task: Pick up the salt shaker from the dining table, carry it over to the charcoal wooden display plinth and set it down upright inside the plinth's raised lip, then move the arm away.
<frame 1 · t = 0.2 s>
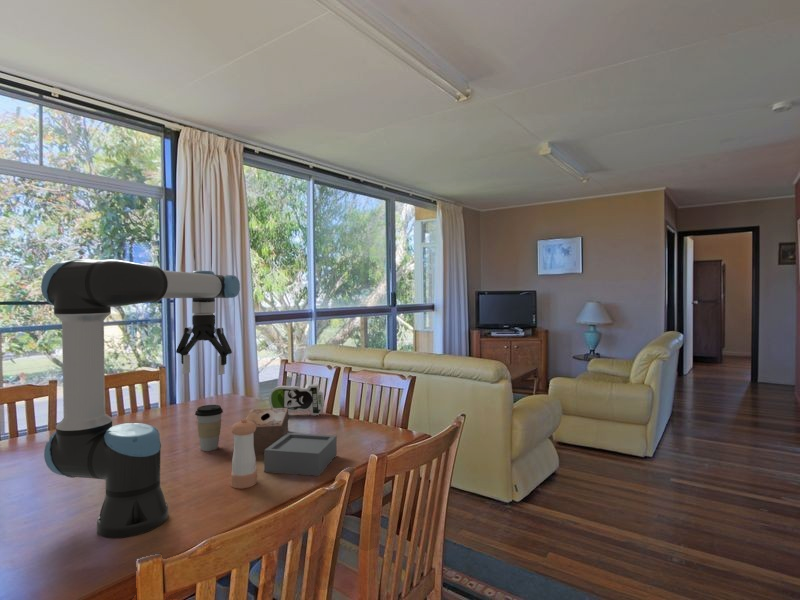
hand: (203, 373, 161), 28 cm above the table, tool pointing down, fingers open, 13 cm apart
cutout: (296, 415, 210), on the table
display plinth: (302, 463, 150), on the table
tissue box cover: (265, 443, 172), on the table
coffee cup: (209, 448, 165), on the table
salt shaker: (244, 484, 135), on the table
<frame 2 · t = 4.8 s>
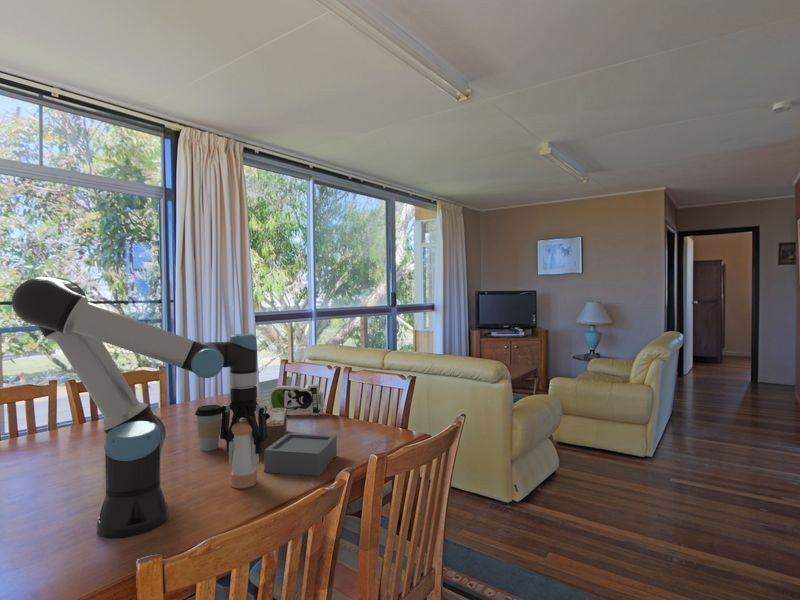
hand: (243, 463, 134), 6 cm above the table, tool pointing down, fingers closed on salt shaker, 7 cm apart
salt shaker: (244, 483, 135), on the table, touching gripper
everything else where it was.
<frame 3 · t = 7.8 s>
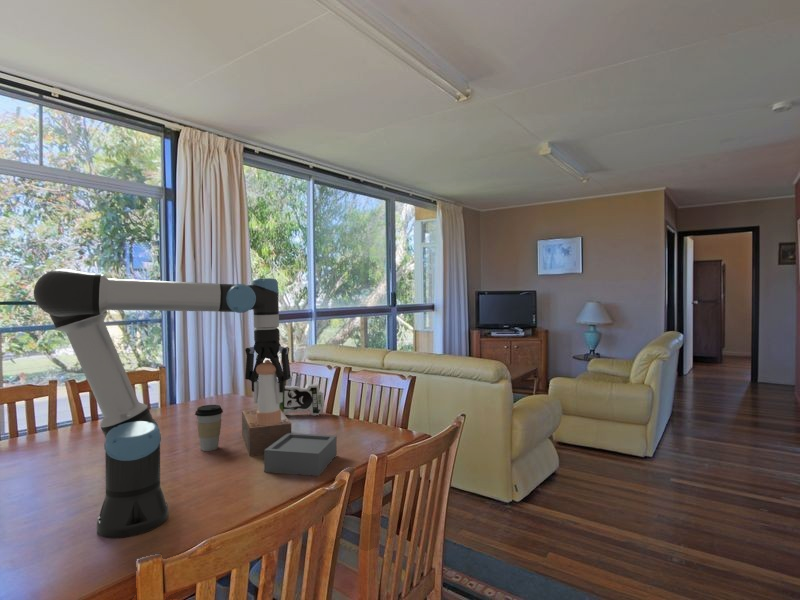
hand: (268, 402, 140), 23 cm above the table, tool pointing down, fingers closed on salt shaker, 7 cm apart
salt shaker: (269, 422, 140), point 17 cm above the table, touching gripper
when the fingers open (13 cm above the table, at t = 10.9 s): salt shaker drops 1 cm, resting on display plinth.
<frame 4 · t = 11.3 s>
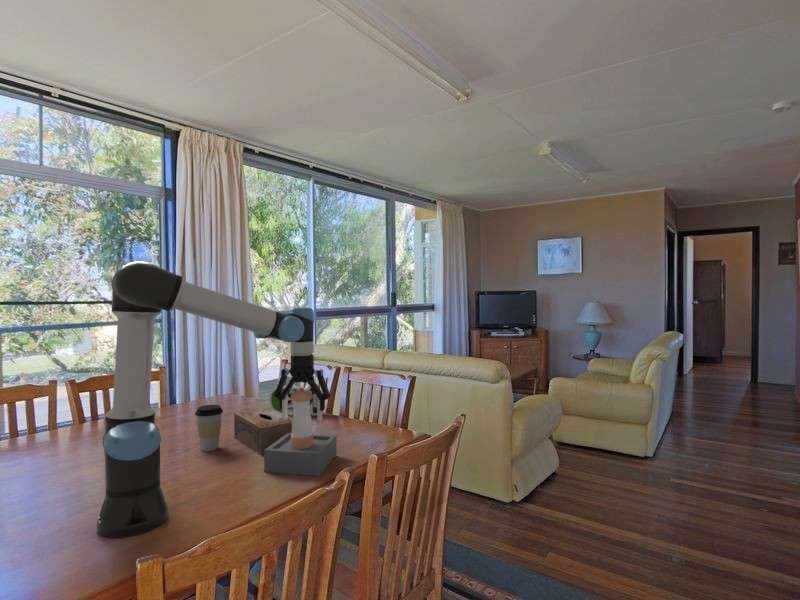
hand: (302, 419, 150), 15 cm above the table, tool pointing down, fingers open, 11 cm apart
salt shaker: (302, 446, 150), point 6 cm above the table, touching display plinth
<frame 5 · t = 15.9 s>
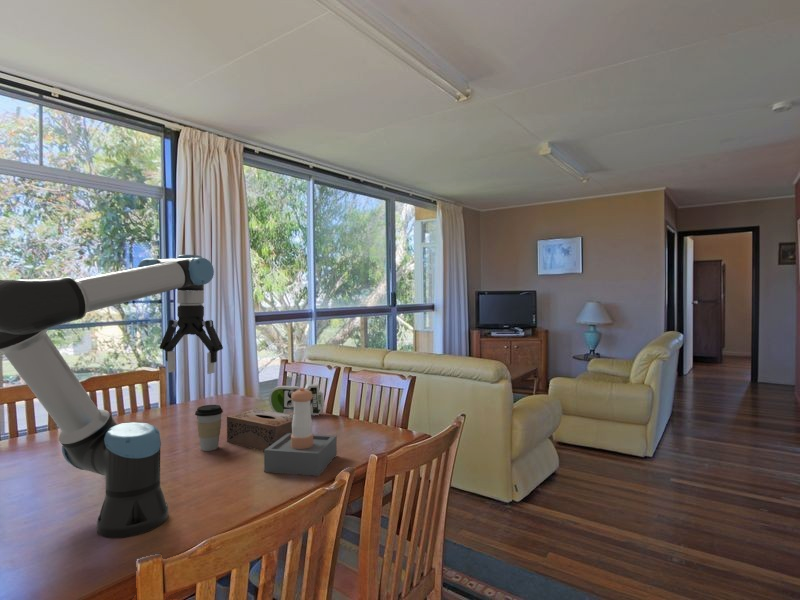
hand: (191, 372, 141), 32 cm above the table, tool pointing down, fingers open, 13 cm apart
at the end: salt shaker inside the target area on the display plinth (0.1 cm from its centre), point 5.8 cm above the display plinth's base; salt shaker tilted 0°; the gripper is holding nothing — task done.
